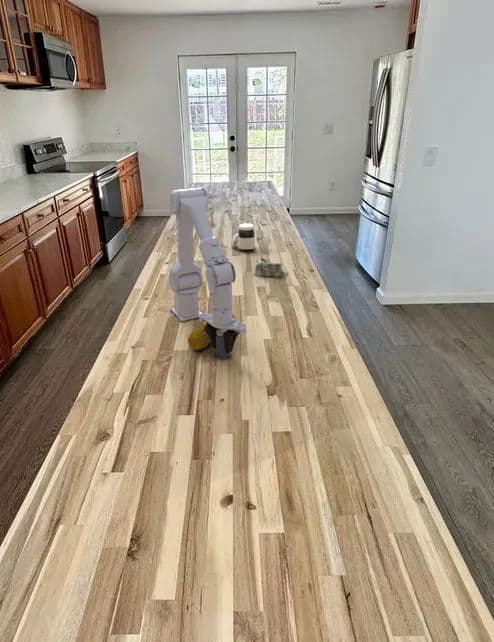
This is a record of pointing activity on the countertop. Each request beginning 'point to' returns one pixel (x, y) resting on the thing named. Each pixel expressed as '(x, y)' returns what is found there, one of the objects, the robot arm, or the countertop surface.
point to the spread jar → (244, 238)
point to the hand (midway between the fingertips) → (223, 349)
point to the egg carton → (268, 269)
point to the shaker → (220, 344)
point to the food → (199, 338)
